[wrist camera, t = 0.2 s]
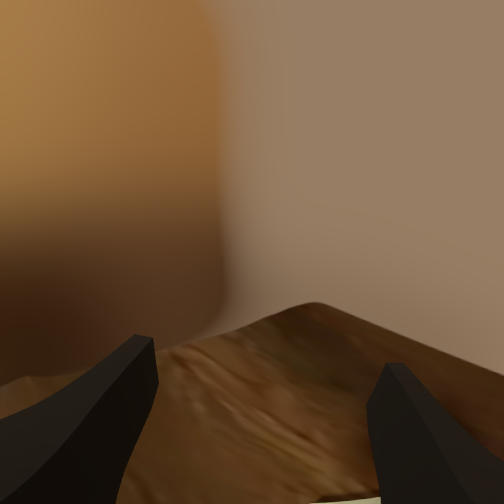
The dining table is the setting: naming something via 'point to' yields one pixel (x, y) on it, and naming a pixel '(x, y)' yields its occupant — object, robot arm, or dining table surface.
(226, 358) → the dining table surface
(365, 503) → the tray
